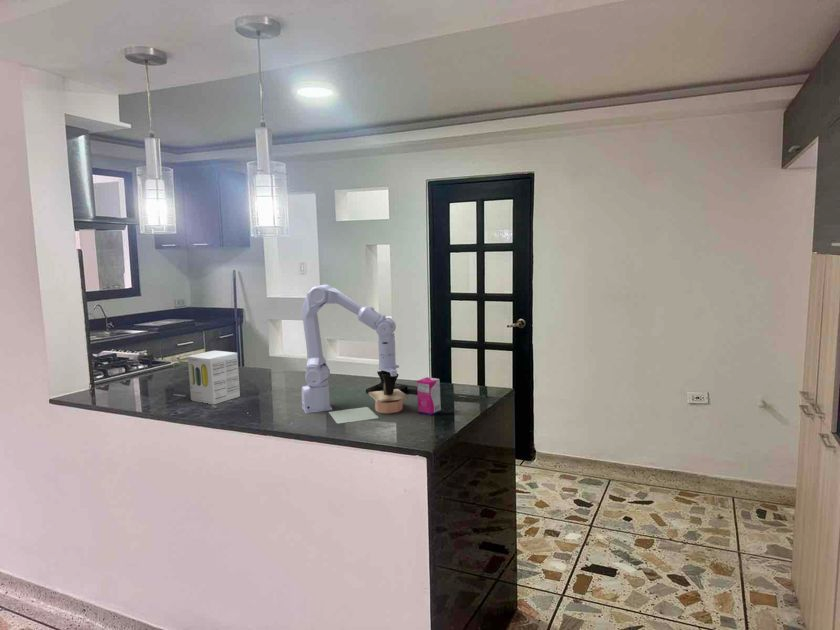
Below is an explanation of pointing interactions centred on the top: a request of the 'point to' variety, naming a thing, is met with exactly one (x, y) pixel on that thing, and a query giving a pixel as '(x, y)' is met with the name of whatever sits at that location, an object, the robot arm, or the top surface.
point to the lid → (388, 395)
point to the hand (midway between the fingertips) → (388, 392)
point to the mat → (352, 415)
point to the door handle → (401, 387)
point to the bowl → (389, 406)
